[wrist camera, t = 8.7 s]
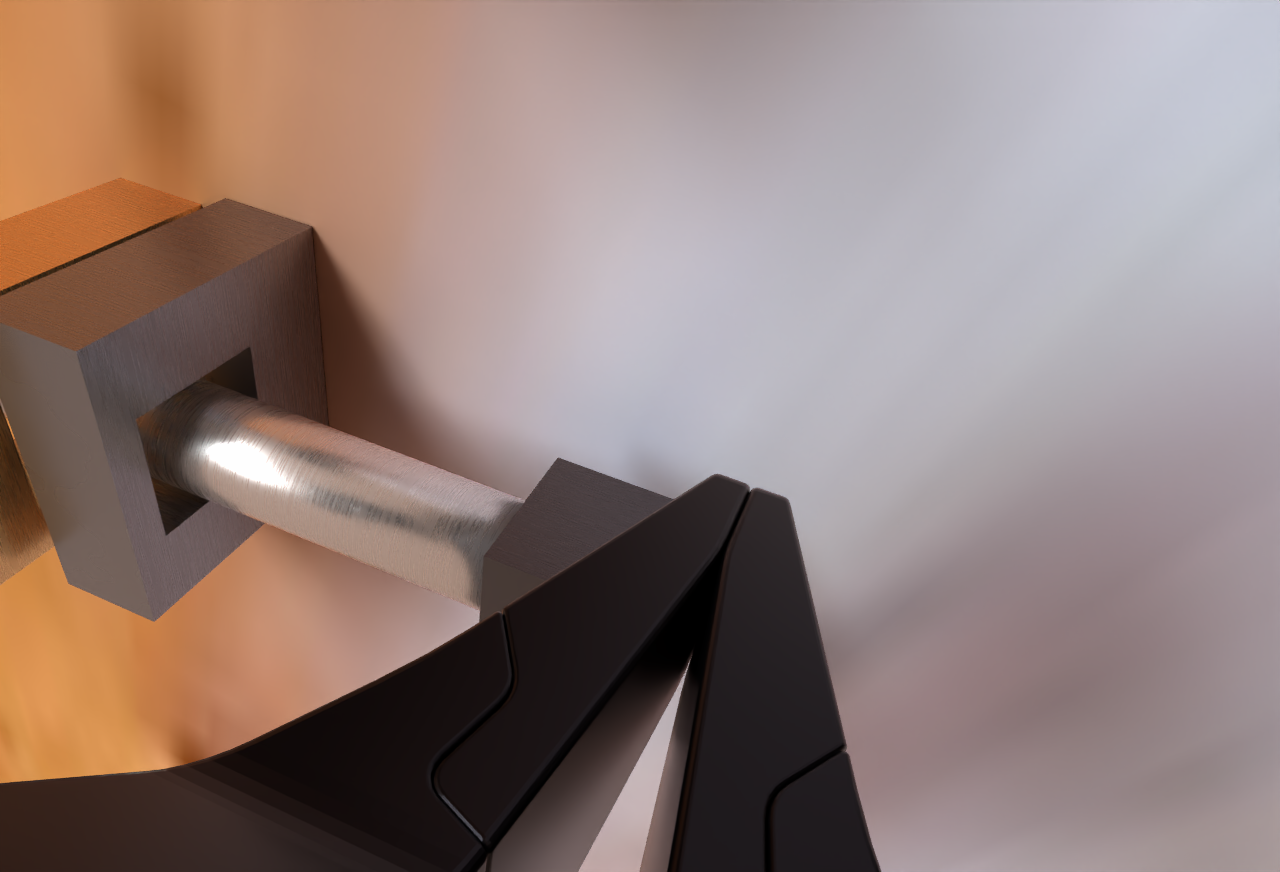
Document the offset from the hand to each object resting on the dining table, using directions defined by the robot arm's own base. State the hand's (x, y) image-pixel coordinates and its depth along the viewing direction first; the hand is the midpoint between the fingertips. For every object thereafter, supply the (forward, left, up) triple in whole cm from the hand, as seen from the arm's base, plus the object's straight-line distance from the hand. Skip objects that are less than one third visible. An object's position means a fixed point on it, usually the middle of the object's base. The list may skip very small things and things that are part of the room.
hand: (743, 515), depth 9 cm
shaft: (+13, +10, -9) cm, 19 cm away
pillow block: (+16, +10, -12) cm, 23 cm away
